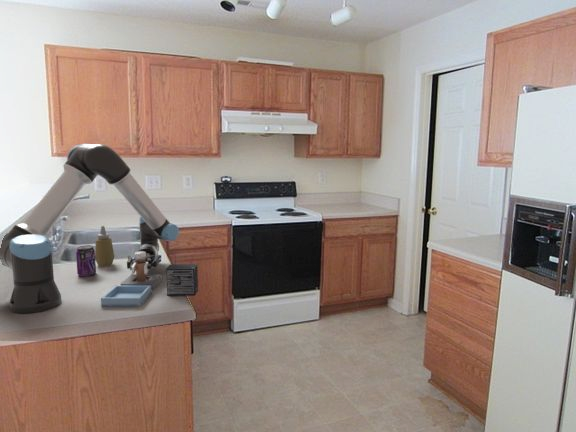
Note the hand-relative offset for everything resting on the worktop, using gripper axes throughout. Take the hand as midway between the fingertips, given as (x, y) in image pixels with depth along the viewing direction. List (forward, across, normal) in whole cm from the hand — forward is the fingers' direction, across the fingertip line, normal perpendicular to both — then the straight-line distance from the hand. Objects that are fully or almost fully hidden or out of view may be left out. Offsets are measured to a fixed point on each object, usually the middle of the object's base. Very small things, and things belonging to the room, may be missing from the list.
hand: (138, 270), depth 159 cm
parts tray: (+10, +3, -8) cm, 13 cm away
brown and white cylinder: (-5, 0, -8) cm, 9 cm away
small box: (+7, -16, -8) cm, 19 cm away
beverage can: (-23, +24, -8) cm, 34 cm away
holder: (-5, 0, -8) cm, 9 cm away
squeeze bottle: (-36, +20, -8) cm, 42 cm away
